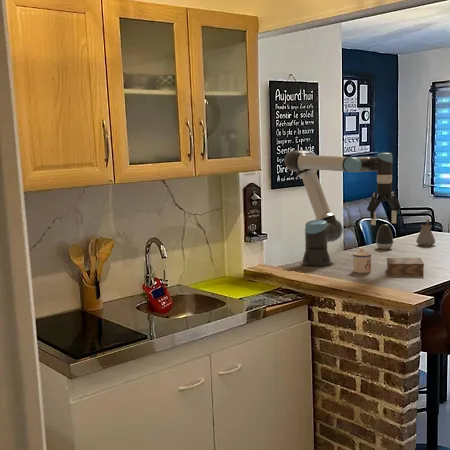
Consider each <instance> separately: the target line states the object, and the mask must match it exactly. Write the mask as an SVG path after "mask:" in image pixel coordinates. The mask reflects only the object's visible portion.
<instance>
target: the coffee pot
mask: <svg viewBox="0 0 450 450" xmlns="http://www.w3.org/2000/svg"><path fill="white" fill-rule="evenodd" d="M429 223H430V219H426V224H420V227H421V229H420V232H419V234H418V236H417V237H416V238H417V239H416V240H415V241H416V243H417V244H418V246H420V247H432V246H433V245H435V243H436V239H435V237H434V235H433V233H432V225H431V224H429ZM431 245H432V246H431Z"/></svg>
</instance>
